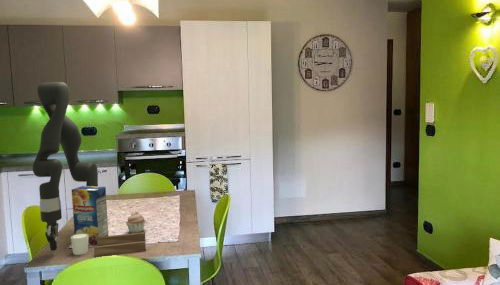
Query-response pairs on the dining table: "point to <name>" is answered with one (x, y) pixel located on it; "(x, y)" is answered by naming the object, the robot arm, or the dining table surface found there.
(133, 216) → the cupcake
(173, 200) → the dining table surface
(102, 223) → the juice carton
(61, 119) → the robot arm
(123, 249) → the walnut channel
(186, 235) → the dining table surface
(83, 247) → the white tapered cylinder
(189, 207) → the dining table surface
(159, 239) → the dining table surface
